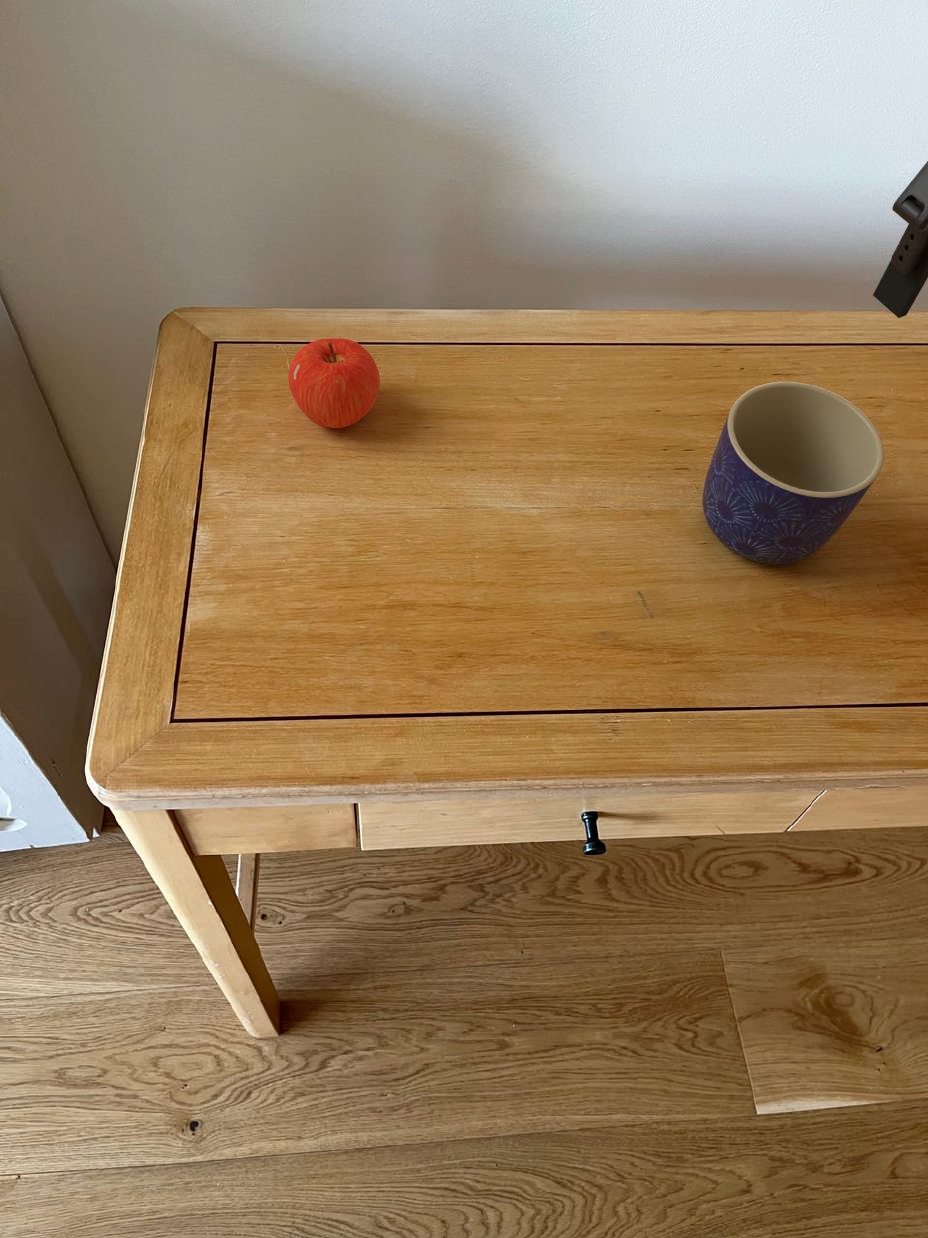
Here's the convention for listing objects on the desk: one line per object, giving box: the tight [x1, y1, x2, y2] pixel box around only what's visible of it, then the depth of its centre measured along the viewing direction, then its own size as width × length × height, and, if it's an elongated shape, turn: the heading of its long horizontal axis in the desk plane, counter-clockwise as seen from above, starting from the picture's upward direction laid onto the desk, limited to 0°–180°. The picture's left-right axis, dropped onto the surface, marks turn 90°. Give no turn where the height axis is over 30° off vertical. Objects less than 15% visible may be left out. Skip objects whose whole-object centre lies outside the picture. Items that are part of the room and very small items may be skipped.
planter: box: [702, 381, 885, 565], centre depth 77 cm, size 12×12×11 cm
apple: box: [287, 337, 381, 429], centre depth 82 cm, size 8×8×8 cm
